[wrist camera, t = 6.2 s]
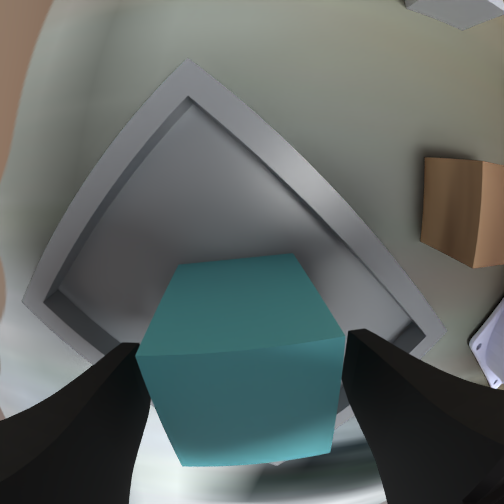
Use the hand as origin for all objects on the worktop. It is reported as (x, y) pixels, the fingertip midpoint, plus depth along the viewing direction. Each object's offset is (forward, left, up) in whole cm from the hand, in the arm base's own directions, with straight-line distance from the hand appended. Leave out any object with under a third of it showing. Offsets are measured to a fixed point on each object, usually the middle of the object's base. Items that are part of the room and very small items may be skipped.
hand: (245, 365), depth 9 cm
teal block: (0, 0, -3) cm, 3 cm away
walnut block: (-4, -11, -4) cm, 12 cm away
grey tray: (0, 0, -4) cm, 4 cm away
